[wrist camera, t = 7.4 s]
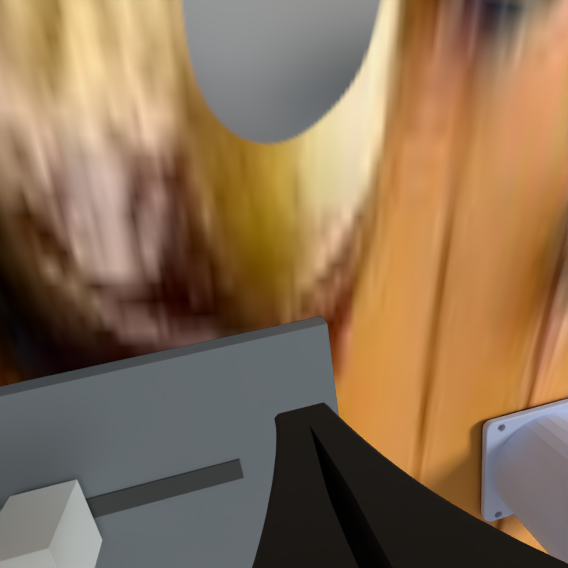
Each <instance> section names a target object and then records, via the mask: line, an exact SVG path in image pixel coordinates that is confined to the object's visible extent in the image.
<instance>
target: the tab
mask: <svg viewBox="0 0 568 568" xmlns="http://www.w3.org/2000/svg"><path fill="white" fill-rule="evenodd" d="M101 543H102V538H101V536H100V533H99V531H98V528H97V526H96V524H95V521H94V519H93V516H92V514H91V512H90V509H89V507H88V504H87V502H86V499H85V497H84V495H83V492H82V490H81V487H80V485H79V483H78V480H77V479H76V480H72V481H68V482H64V483H60V484H56V485H53V486H49V487H45V488H41V489H37V490H33V491H29V492H25V493H21V494H17V495H13V496H10V497H9V499H8V500H7V502H6V504H5V505H4V507H3V509H2V510H1V512H0V568H95V565H96V561H97V558H98V554H99V551H100V547H101Z"/></svg>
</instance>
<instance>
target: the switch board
mask: <svg viewBox="0 0 568 568" xmlns="http://www.w3.org/2000/svg"><path fill="white" fill-rule="evenodd" d="M323 402H324V403H325V404H327V405H328V406H329V407H330V408H331V409H332V410H333V411H334V412H335V413H336V414H337V415H338V416H339V414H338V406H337V398H336V390H335V382H334V375H333V367H332V359H331V351H330V343H329V335H328V327H327V323H326V322H325V320H324V319H323V318H322V316H320V317H316V318H311V319H306V320H302V321H297V322H293V323H288V324H284V325H279V326H275V327H270V328H265V329H261V330H256V331H252V332H247V333H243V334H238V335H234V336H229V337H224V338H220V339H215V340H211V341H206V342H202V343H197V344H192V345H188V346H183V347H179V348H174V349H170V350H165V351H161V352H156V353H151V354H147V355H142V356H138V357H133V358H129V359H124V360H120V361H115V362H110V363H106V364H101V365H97V366H92V367H88V368H83V369H79V370H74V371H69V372H65V373H60V374H56V375H51V376H47V377H42V378H38V379H33V380H28V381H24V382H19V383H15V384H10V385H6V386H1V387H0V512H1V510H2V509H3V507H4V505H5V504H6V502H7V500H8V499H9V497H10V496H13V495H17V494H21V493H25V492H29V491H33V490H37V489H41V488H45V487H49V486H53V485H56V484H60V483H64V482H68V481H72V480H76V479H77V480H78V483H79V485H80V487H81V490H82V492H83V495H84V497H85V499H86V502H87V504H88V507H89V509H90V512H91V514H92V516H93V519H94V521H95V524H96V526H97V528H98V531H99V533H100V536H101V538H102V543H101V547H100V551H99V554H98V558H97V561H96V565H95V568H252V566H253V563H254V559H255V556H256V552H257V549H258V545H259V541H260V538H261V534H262V530H263V525H264V521H265V517H266V512H267V507H268V502H269V497H270V491H271V486H272V480H273V472H274V463H275V455H276V425H275V420H274V418H275V417H276V416H277V414H279V413H283V412H287V411H291V410H295V409H299V408H303V407H307V406H311V405H315V404H319V403H323Z"/></svg>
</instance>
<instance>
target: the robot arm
mask: <svg viewBox="0 0 568 568" xmlns="http://www.w3.org/2000/svg"><path fill="white" fill-rule="evenodd" d="M274 420H275V425H276V455H275V463H274V472H273V480H272V486H271V491H270V497H269V502H268V507H267V512H266V517H265V521H264V525H263V530H262V534H261V538H260V541H259V545H258V549H257V552H256V556H255V559H254V563H253V566H252V568H568V399H565V400H561V401H557V402H554V403H550V404H546V405H543V406H539V407H535V408H532V409H528V410H524V411H520V412H517V413H513V414H509V415H506V416H502V417H498V418H495V419H491V420H488V421H487V422H485V424H484V425H483V441H482V495H481V516H482V517H483V519H484V520H485V521H487V522H492V521H495V520H498V519H501V518H505V517H508V516H511V515H515V516H516V517H517V518H518V519H519V521H520V522H521V523H522V524H523V525H524V526H525V527H526V529H527V530H528V531H529V532H530V533H531V534H532V535H533V537H534V538H535V539H536V540H537V541H538V542H539V543H540V545H541V546H542V547H543V548H544V549H545V550H546V551H547V553H548V554H549V555H548V554H546V553H544V552H542V551H540V550H538V549H535V548H533V547H531V546H529V545H527V544H525V543H523V542H521V541H519V540H517V539H515V538H513V537H511V536H510V535H508V534H506V533H504V532H502V531H500V530H498V529H496V528H494V527H493V526H491V525H489V524H487V523H485V522H483V521H481V520H479V519H477V518H475V517H474V516H472V515H470V514H469V513H467V512H465V511H463V510H462V509H460V508H458V507H457V506H455V505H453V504H452V503H450V502H449V501H447V500H445V499H444V498H442V497H441V496H439V495H438V494H436V493H434V492H433V491H431V490H430V489H428V488H427V487H425V486H424V485H422V484H421V483H419V482H418V481H417V480H415V479H414V478H412V477H411V476H410V475H408V474H407V473H406V472H404V471H403V470H401V469H400V468H399V467H397V466H396V465H395V464H393V463H392V462H391V461H390V460H388V459H387V458H386V457H384V456H383V455H382V454H381V453H380V452H378V451H377V450H376V449H375V448H374V447H372V446H371V445H370V444H369V443H368V442H366V441H365V440H364V439H363V438H362V437H361V436H359V435H358V434H357V433H356V432H355V431H354V430H353V429H352V428H351V427H350V426H348V425H347V424H346V423H345V422H344V421H343V420H342V419H341V418H340V417H339V416H338V415H337V414H336V413H335V412H334V411H333V410H332V409H331V408H330V407H329V406H328V405H327V404H325V403H324V402H323V403H319V404H315V405H311V406H307V407H303V408H299V409H295V410H291V411H287V412H283V413H279V414H277V416H276V417H275V418H274Z"/></svg>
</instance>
